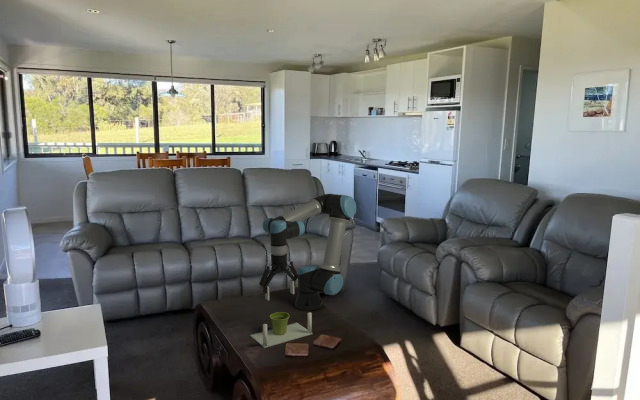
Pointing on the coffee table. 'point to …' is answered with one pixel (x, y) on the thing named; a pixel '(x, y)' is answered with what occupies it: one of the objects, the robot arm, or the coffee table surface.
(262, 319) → the coffee table surface
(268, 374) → the coffee table surface
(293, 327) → the mat
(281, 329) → the plant pot
